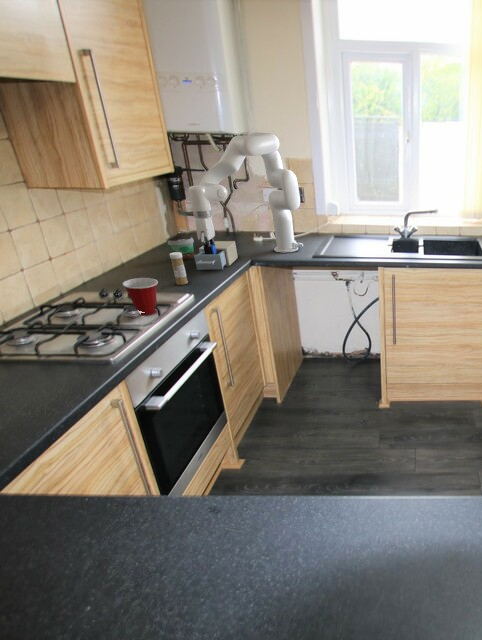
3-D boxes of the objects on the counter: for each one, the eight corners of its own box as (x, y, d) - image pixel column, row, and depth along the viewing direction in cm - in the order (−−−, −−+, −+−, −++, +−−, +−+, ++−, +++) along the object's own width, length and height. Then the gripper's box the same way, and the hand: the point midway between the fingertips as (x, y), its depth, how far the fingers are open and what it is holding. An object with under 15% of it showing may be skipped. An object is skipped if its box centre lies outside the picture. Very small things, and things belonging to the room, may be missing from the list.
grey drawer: (219, 272, 217) (216, 257, 214) (193, 272, 215) (190, 258, 212) (230, 261, 233) (228, 247, 230) (206, 261, 232) (203, 248, 229)
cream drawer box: (229, 265, 229) (226, 248, 226) (202, 266, 228) (198, 248, 224) (237, 257, 242) (235, 241, 239) (212, 257, 241) (208, 241, 237)
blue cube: (216, 252, 224) (215, 244, 222) (214, 255, 220) (212, 246, 219) (207, 252, 223) (206, 244, 222) (205, 255, 220) (203, 246, 218)
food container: (177, 262, 232) (172, 242, 228) (171, 260, 235) (166, 240, 231) (202, 257, 241) (198, 238, 237) (195, 255, 244) (191, 236, 240)
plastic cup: (156, 318, 169) (148, 286, 164) (125, 318, 169) (115, 286, 163) (170, 307, 179) (162, 276, 174) (140, 307, 178) (132, 276, 173)
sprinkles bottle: (175, 283, 204) (167, 252, 198) (186, 281, 207) (179, 251, 201) (178, 286, 201) (171, 255, 195) (189, 283, 204) (182, 253, 198)
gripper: (200, 210, 221) (208, 249, 229) (187, 217, 206) (196, 258, 214) (217, 210, 222) (224, 249, 230) (205, 217, 207) (213, 258, 215)
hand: (210, 253), depth 222 cm, fingers closed on blue cube, 3 cm apart
